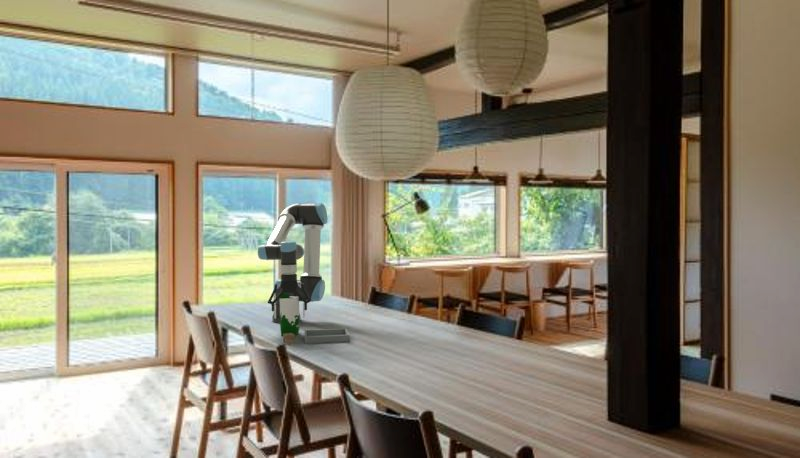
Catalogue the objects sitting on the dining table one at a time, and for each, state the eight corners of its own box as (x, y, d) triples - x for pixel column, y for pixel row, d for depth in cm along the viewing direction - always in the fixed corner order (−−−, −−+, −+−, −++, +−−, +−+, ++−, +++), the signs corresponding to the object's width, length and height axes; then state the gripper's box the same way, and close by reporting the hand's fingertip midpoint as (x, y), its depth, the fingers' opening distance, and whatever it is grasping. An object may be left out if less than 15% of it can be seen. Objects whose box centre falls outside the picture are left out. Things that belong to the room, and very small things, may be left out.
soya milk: (282, 332, 299) (281, 292, 298) (301, 332, 299) (300, 292, 298) (278, 336, 290) (277, 294, 290) (297, 336, 290) (296, 294, 289)
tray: (304, 336, 290) (304, 330, 290) (346, 334, 293) (346, 328, 293) (304, 343, 274) (304, 337, 274) (349, 341, 277) (349, 335, 277)
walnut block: (283, 342, 278) (283, 333, 277) (291, 341, 279) (291, 332, 279) (286, 344, 274) (285, 335, 274) (294, 343, 276) (294, 334, 276)
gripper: (261, 274, 288) (262, 319, 288) (315, 273, 292) (315, 317, 292) (263, 273, 295) (263, 317, 296) (315, 272, 299) (315, 315, 300)
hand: (289, 317), depth 294 cm, fingers open, 13 cm apart
